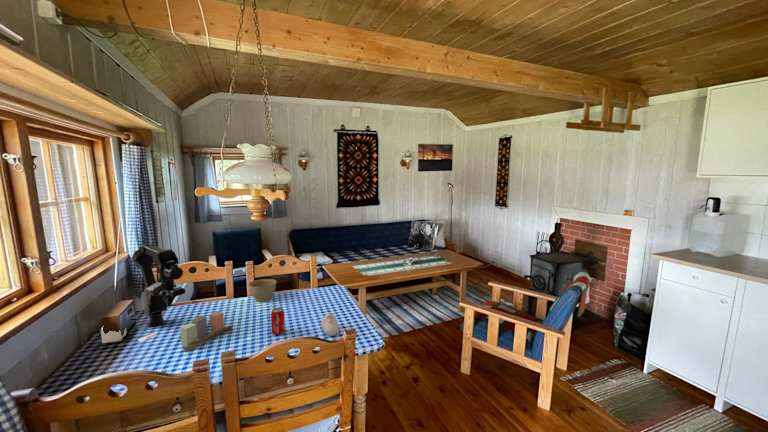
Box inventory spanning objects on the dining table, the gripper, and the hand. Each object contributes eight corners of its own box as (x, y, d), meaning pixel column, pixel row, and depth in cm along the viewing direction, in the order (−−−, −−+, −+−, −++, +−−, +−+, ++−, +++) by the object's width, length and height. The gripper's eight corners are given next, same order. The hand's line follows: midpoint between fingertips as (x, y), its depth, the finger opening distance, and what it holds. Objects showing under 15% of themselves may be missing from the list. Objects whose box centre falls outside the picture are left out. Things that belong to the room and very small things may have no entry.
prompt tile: (137, 340, 148) (137, 339, 148) (153, 334, 154) (153, 332, 154) (152, 347, 143) (152, 345, 143) (168, 339, 149) (168, 338, 149)
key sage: (181, 346, 142) (180, 327, 141) (191, 341, 146) (190, 322, 145) (187, 348, 140) (186, 328, 139) (197, 343, 144) (195, 324, 143)
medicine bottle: (126, 333, 155) (124, 310, 153) (120, 341, 148) (118, 316, 147) (108, 336, 152) (106, 312, 151) (101, 343, 145) (99, 318, 144)
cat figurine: (335, 320, 151) (328, 305, 164) (320, 330, 149) (314, 314, 162) (344, 333, 154) (337, 317, 168) (330, 344, 153) (324, 327, 166)
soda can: (282, 328, 162) (281, 306, 160) (286, 333, 157) (286, 310, 155) (269, 332, 158) (269, 309, 156) (274, 337, 153) (273, 313, 151)
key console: (168, 347, 143) (168, 341, 142) (215, 326, 163) (214, 320, 163) (186, 354, 137) (186, 348, 137) (232, 331, 158) (231, 325, 158)
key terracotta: (210, 332, 155) (209, 314, 154) (218, 328, 159) (217, 311, 158) (215, 334, 153) (214, 316, 152) (224, 330, 157) (223, 312, 156)
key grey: (192, 337, 149) (191, 319, 148) (201, 333, 154) (200, 315, 152) (198, 339, 148) (197, 321, 147) (207, 335, 152) (206, 317, 151)
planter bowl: (282, 297, 203) (281, 281, 202) (262, 306, 189) (261, 288, 188) (264, 292, 211) (263, 277, 210) (243, 301, 197) (243, 284, 195)
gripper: (136, 277, 151) (139, 308, 153) (160, 283, 143) (163, 316, 145) (161, 271, 161) (163, 301, 163) (185, 276, 153) (187, 307, 155)
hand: (168, 306), depth 156 cm, fingers closed
